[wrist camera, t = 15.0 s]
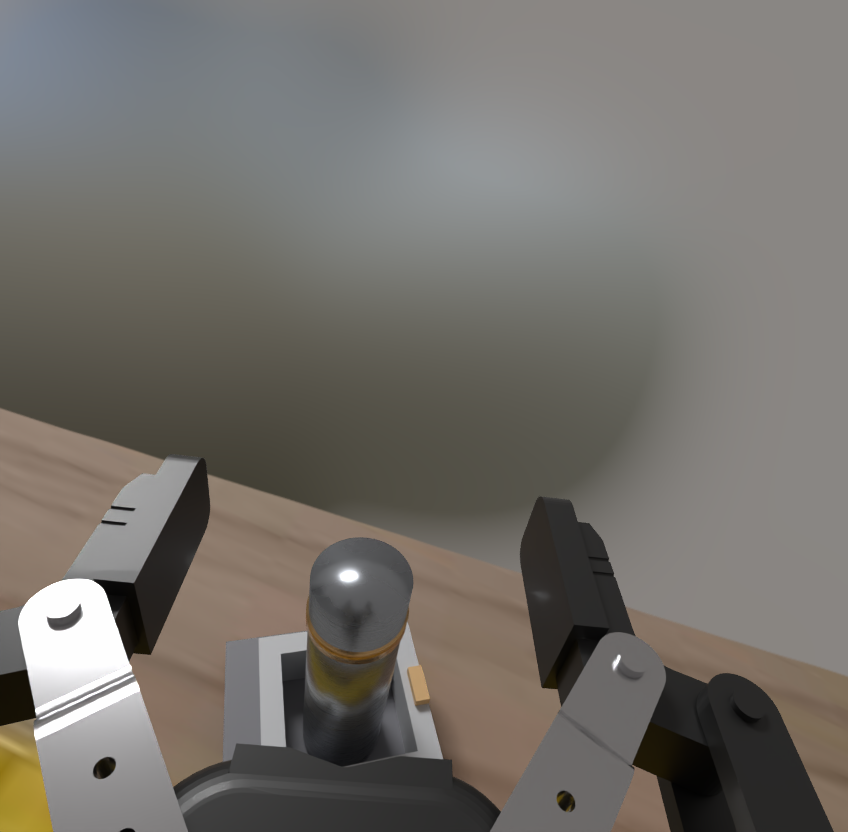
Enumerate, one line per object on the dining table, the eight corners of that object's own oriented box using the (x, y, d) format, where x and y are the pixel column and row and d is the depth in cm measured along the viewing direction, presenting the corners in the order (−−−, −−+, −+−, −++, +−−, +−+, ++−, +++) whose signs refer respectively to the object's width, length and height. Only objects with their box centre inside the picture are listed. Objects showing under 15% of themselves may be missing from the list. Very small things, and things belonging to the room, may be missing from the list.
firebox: (221, 911, 26) (214, 872, 23) (227, 659, 36) (222, 608, 33) (440, 853, 30) (459, 811, 27) (391, 635, 40) (400, 586, 37)
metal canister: (304, 781, 30) (313, 633, 21) (297, 696, 33) (303, 541, 25) (388, 762, 31) (427, 617, 23) (373, 682, 34) (402, 531, 26)
